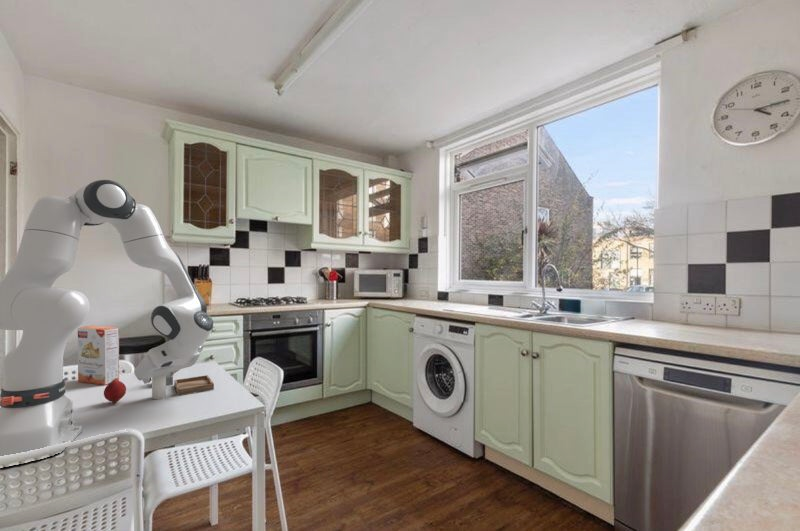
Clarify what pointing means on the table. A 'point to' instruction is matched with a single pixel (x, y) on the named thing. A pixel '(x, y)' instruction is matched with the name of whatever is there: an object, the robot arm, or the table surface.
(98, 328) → the cracker box
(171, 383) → the button housing
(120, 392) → the onion
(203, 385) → the tray
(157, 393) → the white bottle
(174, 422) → the table surface
